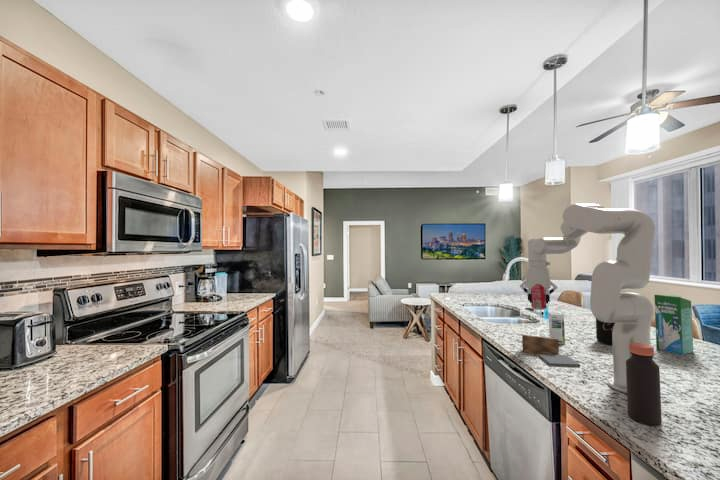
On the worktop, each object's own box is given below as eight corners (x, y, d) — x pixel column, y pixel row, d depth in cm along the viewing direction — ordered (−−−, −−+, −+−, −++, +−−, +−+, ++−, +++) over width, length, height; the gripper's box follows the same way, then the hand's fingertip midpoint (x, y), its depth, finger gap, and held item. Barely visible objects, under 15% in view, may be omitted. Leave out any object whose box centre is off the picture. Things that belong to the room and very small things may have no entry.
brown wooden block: (558, 353, 138) (557, 337, 138) (559, 356, 133) (558, 340, 133) (522, 348, 144) (522, 333, 145) (522, 352, 140) (522, 336, 140)
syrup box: (551, 343, 152) (550, 313, 153) (549, 340, 158) (548, 311, 158) (565, 344, 150) (564, 314, 150) (562, 341, 155) (561, 312, 156)
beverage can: (542, 307, 149) (541, 282, 149) (549, 310, 143) (548, 284, 143) (529, 307, 150) (528, 282, 150) (535, 310, 143) (534, 284, 144)
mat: (580, 367, 122) (579, 364, 122) (549, 365, 123) (549, 363, 123) (565, 357, 133) (565, 355, 133) (538, 356, 134) (538, 353, 134)
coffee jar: (602, 345, 149) (601, 307, 149) (592, 339, 159) (591, 303, 159) (629, 347, 145) (627, 308, 146) (617, 340, 156) (616, 304, 156)
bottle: (639, 425, 81) (636, 348, 82) (621, 412, 88) (619, 341, 89) (668, 427, 80) (665, 349, 81) (648, 413, 87) (646, 342, 88)
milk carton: (693, 352, 138) (691, 295, 138) (682, 354, 134) (680, 296, 135) (667, 346, 146) (665, 293, 147) (656, 348, 143) (654, 294, 143)
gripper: (558, 264, 146) (559, 302, 145) (517, 264, 154) (518, 300, 154) (559, 265, 140) (561, 305, 139) (516, 264, 148) (517, 302, 147)
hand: (538, 302), depth 146 cm, fingers closed on beverage can, 6 cm apart
